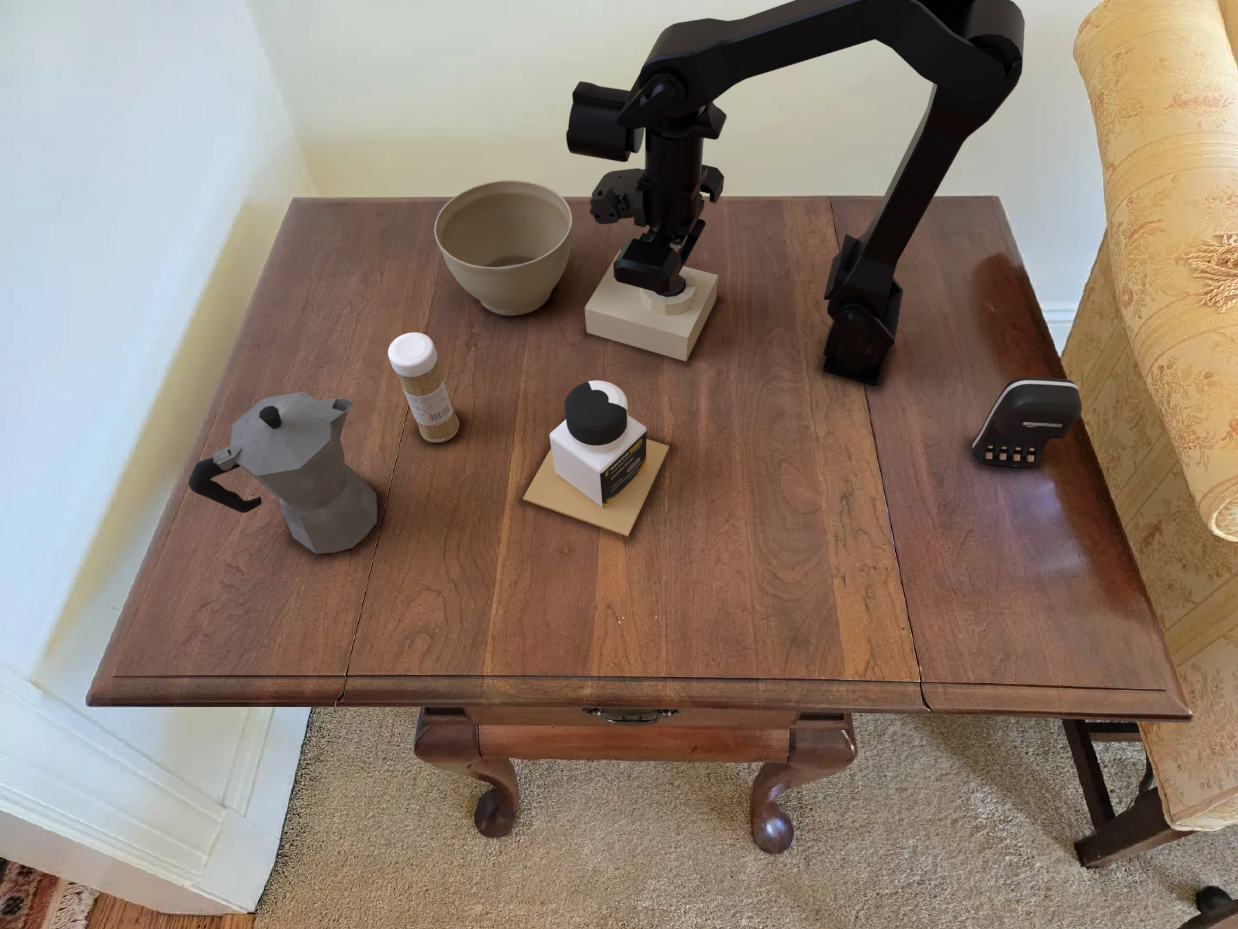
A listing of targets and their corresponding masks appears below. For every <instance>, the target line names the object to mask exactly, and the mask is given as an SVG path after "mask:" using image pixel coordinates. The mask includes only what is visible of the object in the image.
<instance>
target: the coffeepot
mask: <svg viewBox="0 0 1238 929" xmlns="http://www.w3.org/2000/svg"><path fill="white" fill-rule="evenodd" d="M353 407H354V404H353V402H352V400H350V399H347V398H346V397H339V398H337V397H333V398H327V399H326V398H325V399H320V400H318V399H316V398H314V397H313V396H311V395H310V394H308V393H307V392H306V391H299V392H293V393H292V392H291V393H286V394H280V395H273V396H268V397H263V398H262V399H261V400H260V401H258V402H257V403H256V404H255V405H253V406H252V408H250V409H249V410H248V411H247V412H245V413H244V414H243V415H242V416H241V417H239V418H238V419H237V420H236V421H234V423H233V424H232V427H231V435H230V445H228V446H225V447H224V448H221V449H220V450H217V451H215V452H213V453H212V455H213V456H211V457H209V458H206V459H203V460H200V461H198V462H197V463H195V466H194V467H193V469H192V472H191V474H190V476H189V479H188V487H189V489H190V490H191V491H192V492H193V493H195V494H197V495H199V496H202V497H204V498H207V499H208V500H211V501H213V502H216V503H219V504H220V505H223V506H224V507H225V506H226V507H228V508H230V509H232V510H234V511H236V512H238V513H241V514H246V513H248V512H251V511H253V510H254V509H256V508H258V507H259V506H261V505H262V503H263V502H262V498H261V496H257V497H254V498H252V499H248V500H245V499H243V498H242V497H241V496H240V495H239V494H238V493H237V492H235V491H233V490H229V489H226V488H225V487H224V486H223V485H221V484H220V483H219V482H217V481H215V480H213V478H215V477H217V476H220V475H223V474H227V473H228V472H231V471H233V470H235V469H238V468H242V469H243V470H244V471H246V472H247V473H248V474H249V475H250V476H251V477H253V479H255V480H256V481H257V482H258V483H260V484H261V485H262V486H263V487H264V488H265V489H266V490H268V491H269V492H270V493H271V494H273V496H276V497H277V498H278V499H279V505H280V508H281V509H282V514H283V516H284V518H285V520H286V523H287V526H288V529H289V531H290V534H291V536H292V538H293V539H295V540H296V541H297V542H299V543H300V544H301V545H302V546H304V547H305V548H307V549H309V550H310V551H311V552H313V553H314V554H316V555H324V554H333V553H336V554H337V553H339V552H343V551H345V550H349V549H353V548H354V547H355V546H357V545H358V544H359V543H361V541H363V539H365V538H366V537H367V536H368V534H370V532H371V531H372V529H373V528H374V526H375V525H376V524H377V523H378V503H377V497H378V496H377V493H376V492H375V491H374V490H373V488H371V487H370V486H369V484H368V483H366V481H364V480H363V479H362V477H360V475H359V474H358V473H357V472H355V470H354V469H352V468H351V467H350V466H349V465H348V464H347V463H346V462H345V451H344V447H343V444H342V440H341V436H342V433H343V430H344V427H345V422H346V420H347V417H348V414H349V412H350V410H351V409H352V408H353Z"/></svg>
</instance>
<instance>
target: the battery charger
mask: <svg viewBox="0 0 1238 929" xmlns="http://www.w3.org/2000/svg"><path fill="white" fill-rule="evenodd" d="M1082 412H1083V403H1082V400H1081V396H1080V389H1079V386H1078V385H1077V384H1076V382H1075V381H1073V380H1070V379H1066V378H1054V377H1038V376H1021V377H1017V378H1015V379H1012V380H1011V381H1009V382H1008V383H1007V384H1006V385H1005V386H1004V388H1003V389H1002V391H1001V392H1000V393H999V395H998V397H997V399H996V400H995V402H994V403H993V405H992V407H991V408H990V410H989V413H988V415H987V416H986V418H985V421H984V423H983V424H982V426H981V427H980V429H979V431H978V432H977V434H976V436H975V437H974V439H973V440H972V445H971V446H972V450H973V453H974V455H975V458H976V459H977V460H978V461H979V462H980V463H982V464H984V465H987V466H999V467H1016V468H1032V467H1035V466H1037V464H1038V462H1039V461H1040V459H1041V457H1042V455H1043V452H1044V450H1045V448H1046V446H1047V445H1048V443H1049V442H1050V441H1051V439H1052V440H1055V439H1057V440H1058V439H1059V440H1060V439H1063V438H1065V437H1066V436H1067V435H1068V433H1069V432H1070V431H1071V429H1072V428H1073V426H1074V425H1075V423H1076V422H1077V421H1078V419H1079V417H1080V415H1081V414H1082Z"/></svg>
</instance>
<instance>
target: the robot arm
mask: <svg viewBox="0 0 1238 929" xmlns="http://www.w3.org/2000/svg"><path fill="white" fill-rule="evenodd" d="M1025 26H1026V20H1025V18H1024V15H1023V12H1022V9H1021V8H1020V7H1019V5H1018V4H1016V3H1015V1H1013V0H792V1H789V2H786V3H783V4H780V5H777V6H774V7H771V8H769V9H766V10H763V11H760V12H757V13H754V14H751V15H749V16H746V17H743V18H738V19H737V18H736V19H731V20H724V19H719V18H712V17H705V18H700V19H694V20H686V21H681V22H676V23H672V24H671V25H669V26H667V27H666V28H664V29H663V30H662V31H661V32H660V34H659V35H658V37H657V39H656V41H655V43H653V46H652V48H651V50H650V51H649V53H648V56H647V57H646V59H645V61H644V62H643V64H642V67H641V69H640V71H639V74H638V76H637V78H636V80H635V81H634V83H633V85H632V86H631V89H630V90H628V89H627V90H626V89H621V88H615V87H608V86H602V85H598V84H595V83H592V82H589V81H582V80H580V81H579V82H577V84H576V86H575V88H574V89H573V91H572V93H571V96H572V97H571V98H572V105H571V108H570V112H569V118H568V125H567V130H566V133H565V139H566V146H567V149H568V152H569V153H570V154H573V155H578V156H584V157H590V158H597V159H603V160H607V161H614V162H619V163H627V162H629V159H630V156H631V154H638V153H639V152H640V150H641V148H642V144H643V141H644V168H639V167H637V168H636V167H635V168H625V169H619V170H617V169H616V170H611V171H609V172H607V173H605V174H604V175H603V176H602V177H601V178H600V180H599V182H598V183H597V185H596V186H595V188H594V189H593V191H592V192H591V198H590V199H589V204H590V209H589V214H590V215H591V216H592V217H593V219H594V221H595V222H596V223H598V224H600V225H610V224H617V223H618V222H619V220H623V219H624V220H626V219H632V218H633V226H637V227H640V228H646V227H647V226H648V227H649V228H648V230H647V232H642V233H641V235H640V237H639V238H635V237H633V238H631V239H629V240H627V241H626V242H625V243H624V245H623V246H622V248H621V249H620V250H621V251H620V253H619V255H618V256H617V258H616V260H615V261H614V263H613V267H614V278H615V279H616V281H617V282H620V283H624V284H628V285H632V286H635V287H639V288H643V289H646V290H650V291H654V292H658V293H661V294H663V293H666V292H669V291H670V289H671V287H672V285H673V284H674V282H675V280H676V278H677V276H678V274H679V273H680V271H681V269H682V268H683V266H685V264H686V263H687V261H688V259H689V258H690V255H691V253H692V252H693V250H694V248H695V245H696V244H697V242H698V240H699V238H700V237H701V234H702V233H703V231H704V229H705V227H706V224H707V223H706V222H707V221H705V220H704V219H702V218H700V216H701V215H702V213H703V211H704V209H705V199H703V194H702V193H705V194H708V195H709V197H708V198H709V199H708V201H709V203H711V204H714V205H716V204H717V202H718V201H719V199H720V197H721V196H722V193H723V191H724V183H725V175H724V174H723V173H722V171H721V170H720V169H719V168H718V167H715V166H711V165H707V164H703V156H704V154H703V153H704V142H705V139H708V140H714V141H717V140H718V139H719V138H720V136H721V132H722V131H723V129H724V125H725V123H726V121H727V118H728V115H727V114H726V113H725V112H724V111H723V110H722V109H721V108H720V107H718V106H717V105H716V104H715V103H714V101H715V100H717V99H718V98H719V97H721V96H722V95H723V94H724V93H726V92H727V91H729V90H730V89H731V88H733V87H734V86H735V85H737V84H740V83H741V82H744V81H745V80H748V79H751V78H754V77H758V76H761V75H763V74H766V73H770V72H773V71H777V70H780V69H783V68H787V67H790V66H793V65H796V64H800V63H802V62H806V61H810V60H813V59H816V58H820V57H822V56H826V55H829V54H832V53H836V52H839V51H843V50H845V49H848V48H851V47H852V48H853V47H855V46H858V45H861V44H865V43H868V42H872V41H877V42H879V43H881V44H883V45H885V46H887V47H889V48H890V49H891V50H893V51H894V52H895V54H897V55H898V56H899V57H900V58H901V59H902V60H903V61H904V62H906V64H908V66H909V67H911V68H912V69H913V71H915V72H916V73H917V74H918V75H919V76H920V77H922V78H923V79H925V80H927V81H928V82H931V83H932V88H931V91H930V95H929V99H928V103H927V106H926V109H925V110H924V113H923V115H922V117H921V119H920V121H919V123H918V126H917V128H916V129H915V132H914V133H913V135H912V138H911V140H910V142H909V144H908V146H907V148H906V150H905V152H904V154H903V156H902V159H900V162H899V165H898V167H897V168H896V171H895V173H894V175H893V177H892V179H891V181H890V182H889V185H888V187H887V189H886V191H885V193H884V194H883V197H882V199H881V201H880V203H879V205H878V207H877V210H876V211H875V214H874V216H873V218H872V220H871V222H870V223H869V225H868V228H867V229H866V231H865V232H864V233H863V234H861V235H860V236H859V237H857V238H856V237H854V236H852V235H849V234H848V233H846V234H844V237H843V241H842V246H841V249H840V250H839V252H838V253H837V254H836V255H835V256H834V257H833V258H832V261H831V266H830V270H829V275H828V278H827V282H826V287H825V291H824V294H823V300H824V301H828V303H827V306H826V314H827V315H828V316H829V317H830V319H832V323H831V326H830V329H829V331H828V335H827V339H826V343H825V346H824V350H823V353H822V354H823V356H824V357H825V360H824V363H823V365H822V371H823V372H825V373H828V374H831V375H835V376H838V377H841V378H846V379H849V380H852V381H856V382H859V383H864V384H867V385H871V386H877V385H879V383H880V380H881V376H882V373H883V369H884V366H885V363H886V359H887V357H888V354H889V352H890V349H891V348H892V347H893V346H895V344H896V338H897V333H898V325H899V322H900V321H899V318H900V313H901V306H902V301H903V295H904V288H903V287H902V286H901V285H900V283H899V282H898V280H896V278H895V277H894V276H895V273H896V269H897V265H898V262H899V260H900V259H901V256H902V254H903V253H904V251H905V249H906V247H907V245H908V244H909V243H910V240H911V238H912V236H913V234H914V232H915V231H916V229H917V227H918V225H919V223H920V222H921V220H922V218H923V217H924V214H925V213H926V211H927V209H928V207H929V206H930V204H931V202H932V200H933V198H934V197H935V195H936V193H937V191H938V190H939V187H941V185H942V182H943V181H944V179H945V177H946V175H947V174H948V172H949V170H950V168H951V166H952V164H953V163H954V160H955V159H956V157H957V156H958V154H959V151H960V150H961V148H962V146H963V145H964V143H965V142H966V140H967V139H968V138H969V137H970V136H971V135H973V134H974V133H975V132H976V131H978V130H979V129H980V128H981V127H983V126H984V125H985V124H986V123H988V122H989V121H990V119H991V118H992V117H993V116H994V114H996V112H997V111H998V110H999V108H1000V107H1001V106H1002V105H1003V104H1004V102H1006V100H1007V99H1008V97H1010V95H1011V94H1012V93H1013V91H1014V90H1015V88H1016V87H1017V85H1018V84H1019V82H1020V79H1021V76H1022V74H1023V67H1024V66H1023V64H1024V63H1023V61H1024V49H1025V48H1024V46H1025V45H1024V44H1025Z"/></svg>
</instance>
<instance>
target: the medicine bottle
mask: <svg viewBox="0 0 1238 929" xmlns="http://www.w3.org/2000/svg"><path fill="white" fill-rule="evenodd" d="M628 409H629V408H628V398H627V396H626V394H625V393H624V391H623V390H622V389H621V388H620V387H619V386H617V385H615V384H614V383H612V382H609V381H605V380H599V379H597V380H589V381H585V382H582V383H580V384H578V385H576V386H575V387H574V388H573V389H571V391H569V393H567V396H566V397H565V400H564V415H565V419H564V421H562V422H561V423H560V424H558V426H557V427H555V428H554V429H553V430H552V431H551V432H550V433H549V441H550V442H549V443H550V449H552V455H553V461H554V467H555V472H556V473H557V474H558V475H559V476H560V477H562V478H563V479H564V480H566V481H567V482H568V483H570V484H571V485H572V486H574V487H575V488H576V489H578V490H579V491H580V492H582V493H583V494H585V495H586V496H587V497H589V498H590V499H591V500H593V501H594V502H595V503H597V504H598V505H599V506H601V507H602V508H603V507H606V506H607V505H608V504H609V503H610V502H611V501H612V500H613V499H614V498H615V497H616V496H617V495H618V494H619V493H620V492H621V491H622V490H623V489H624V488H625V487H626V486H627V485H628V484H629V483H630V482H631V481H632V480H633V479H634V478H635V477H636V476H637V475H638V474H639V473H640V472H641V471H642V470H643V469H644V468H645V467H646V443H647V439H648V438H647V436H648V433H647V426H645V425H644V424H642V423H641V422H639V421H638V420H636V419H635V418H634V417H632V416H630V415H629V414H628V413H629V412H628Z"/></svg>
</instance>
